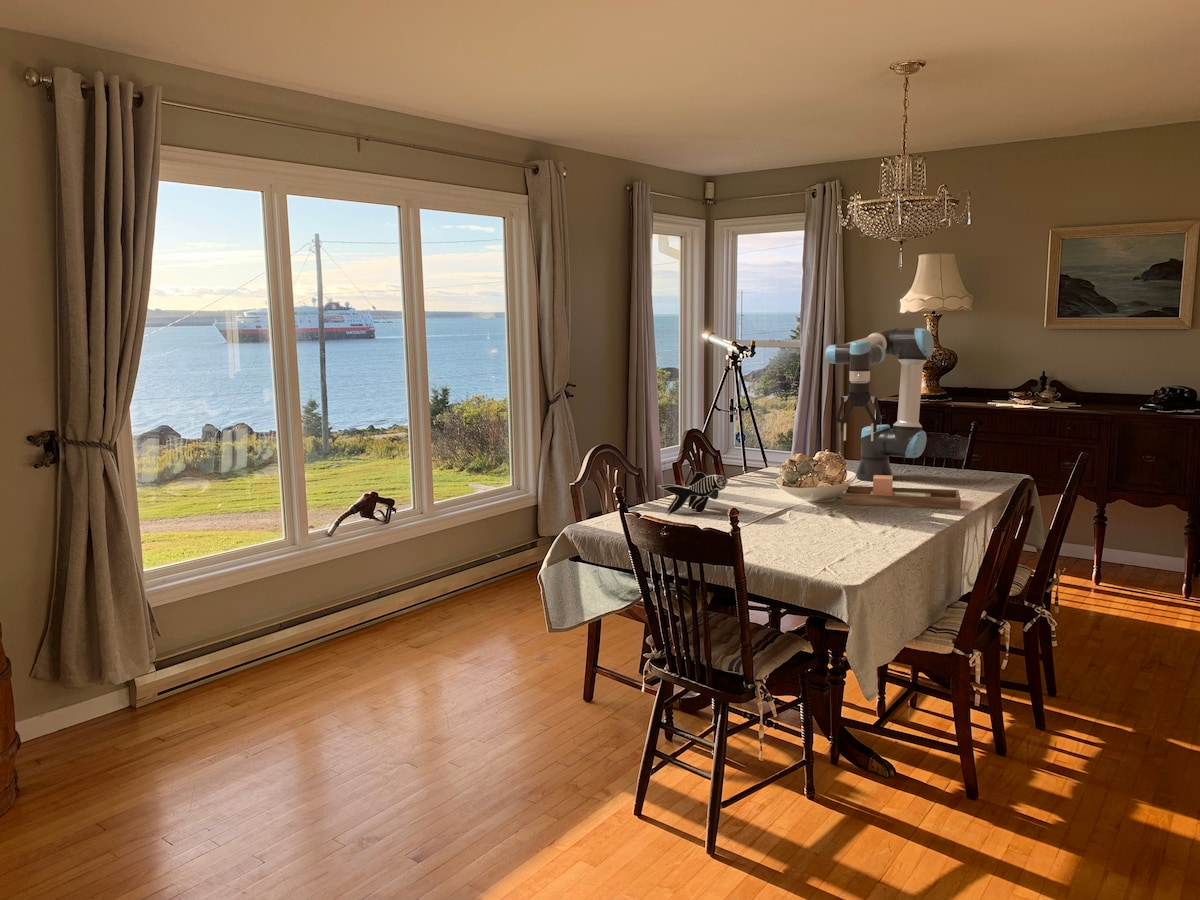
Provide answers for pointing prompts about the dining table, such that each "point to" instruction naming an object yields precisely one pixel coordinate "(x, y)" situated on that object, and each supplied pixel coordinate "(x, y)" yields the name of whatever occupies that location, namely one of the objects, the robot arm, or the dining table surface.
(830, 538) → the dining table surface
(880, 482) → the block
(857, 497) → the trap box
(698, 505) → the decorative fish
